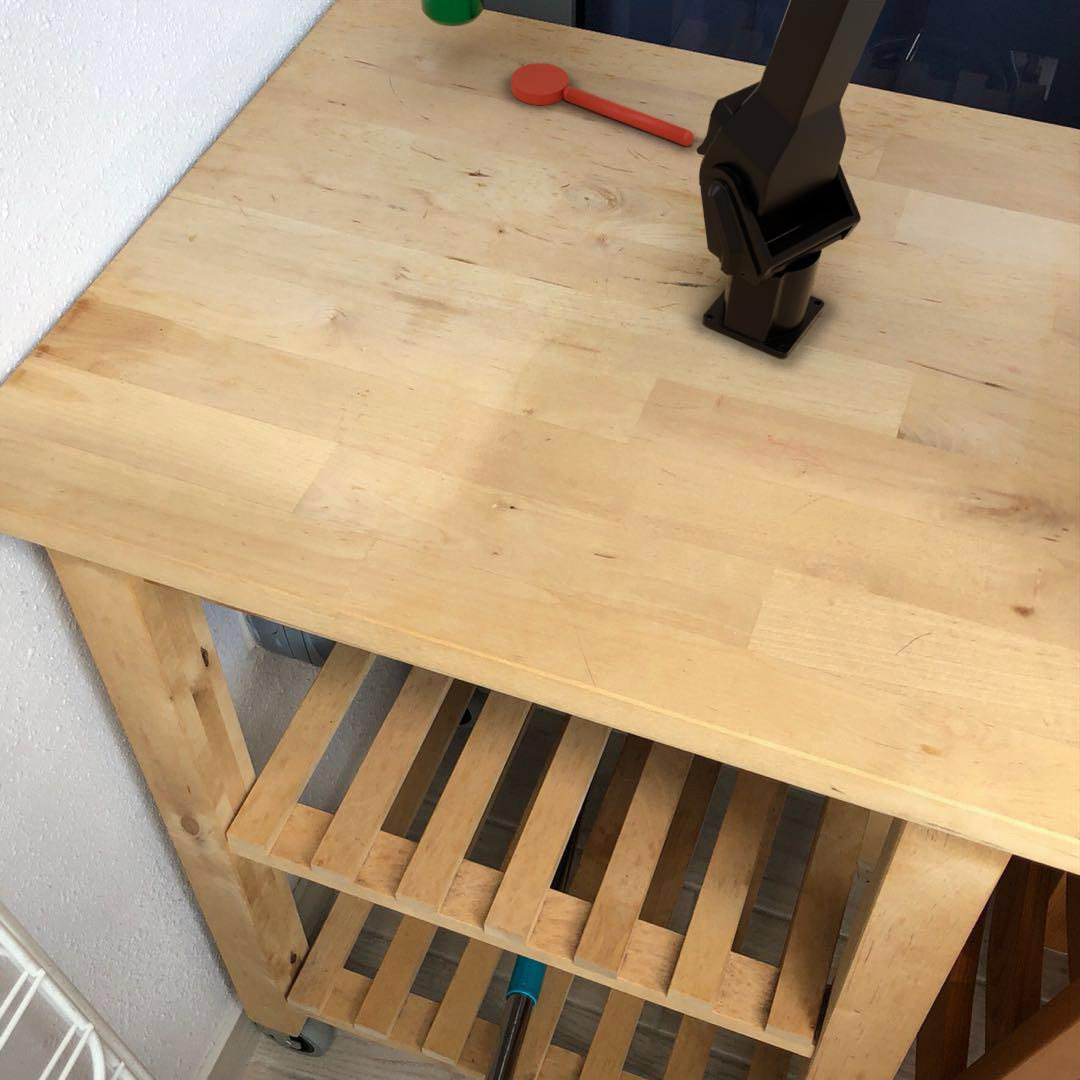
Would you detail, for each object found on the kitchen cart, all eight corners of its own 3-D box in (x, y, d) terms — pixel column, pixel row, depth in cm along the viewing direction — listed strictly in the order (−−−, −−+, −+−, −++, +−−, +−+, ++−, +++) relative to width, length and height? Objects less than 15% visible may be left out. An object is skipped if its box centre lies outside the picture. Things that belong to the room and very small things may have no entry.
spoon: (706, 132, 96) (708, 119, 95) (677, 161, 94) (678, 148, 93) (531, 67, 102) (532, 54, 101) (500, 93, 99) (499, 80, 98)
